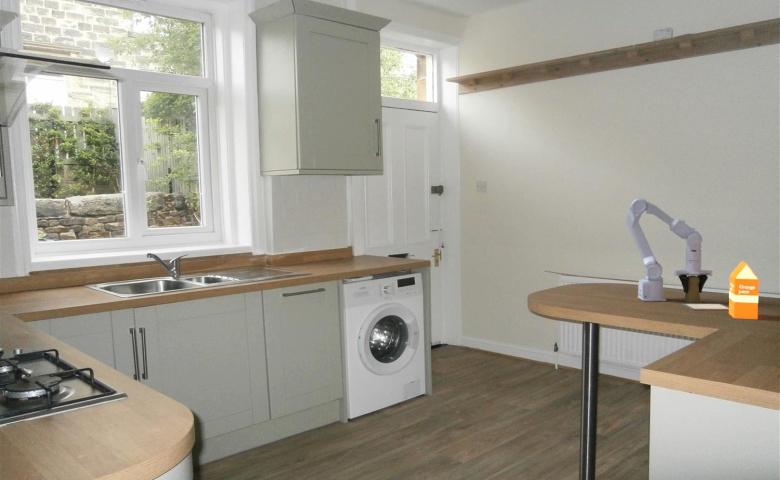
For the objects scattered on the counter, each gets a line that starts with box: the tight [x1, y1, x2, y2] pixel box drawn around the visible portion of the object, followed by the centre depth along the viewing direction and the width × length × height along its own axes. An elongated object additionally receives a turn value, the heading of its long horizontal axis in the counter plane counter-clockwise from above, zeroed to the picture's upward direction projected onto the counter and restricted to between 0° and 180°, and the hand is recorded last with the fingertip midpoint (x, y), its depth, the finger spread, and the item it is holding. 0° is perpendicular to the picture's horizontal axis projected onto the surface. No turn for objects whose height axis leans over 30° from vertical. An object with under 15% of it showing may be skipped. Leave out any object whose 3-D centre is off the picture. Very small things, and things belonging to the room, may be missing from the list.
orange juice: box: [728, 261, 760, 320], centre depth 217 cm, size 8×9×20 cm
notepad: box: [681, 303, 729, 311], centre depth 235 cm, size 15×11×1 cm
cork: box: [683, 275, 701, 304], centre depth 246 cm, size 6×6×11 cm
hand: (692, 292), depth 246 cm, fingers closed on cork, 5 cm apart
